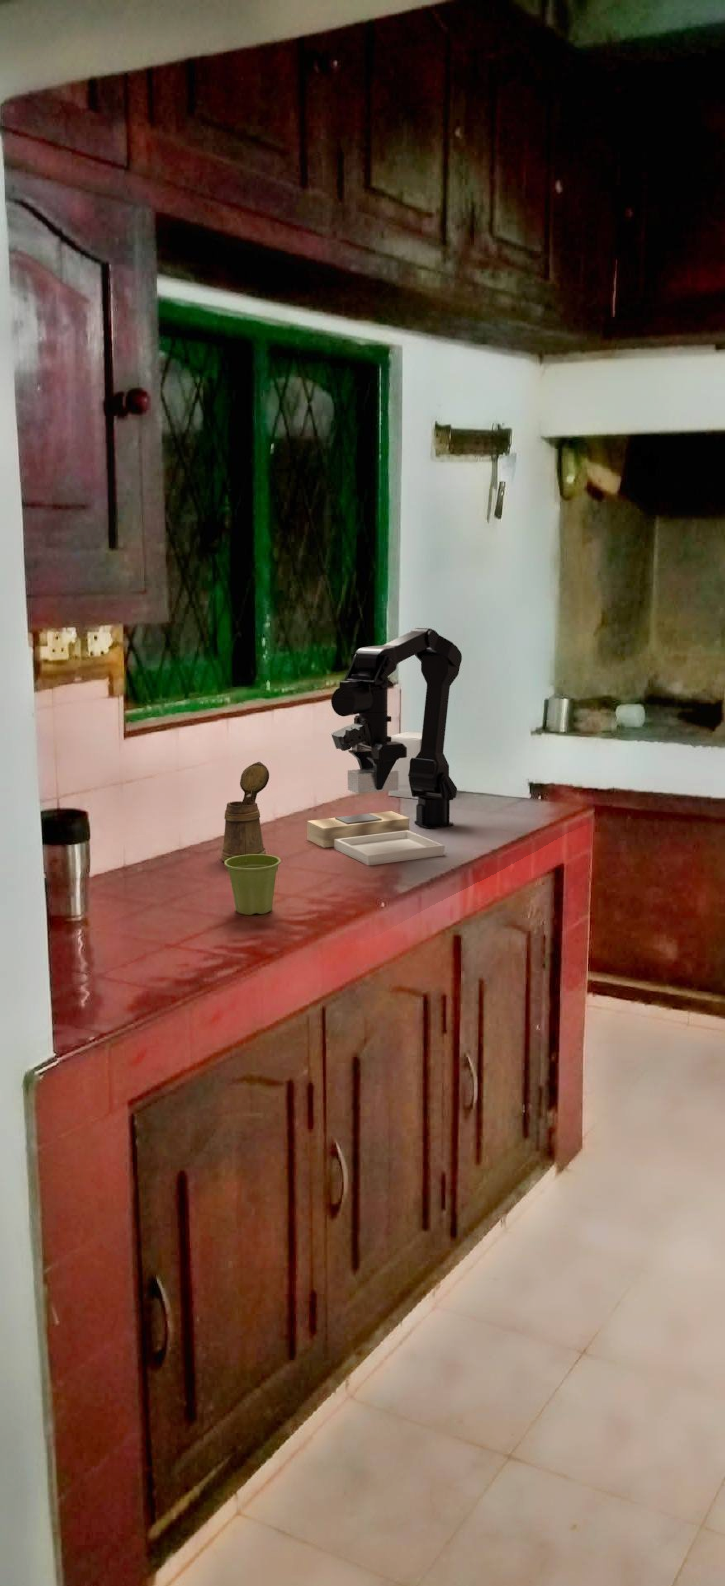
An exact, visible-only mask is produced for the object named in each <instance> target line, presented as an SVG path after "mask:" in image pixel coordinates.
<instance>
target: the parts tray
mask: <svg viewBox="0 0 725 1586" xmlns="http://www.w3.org/2000/svg"><path fill="white" fill-rule="evenodd" d="M333 848H334V850H336V851H338V852H340V853H342V854H344V855H346V856H348V857H350V858H352V859H354V860H356V861H358V862H360V863H362V864H364V865H366V866H375V865H382V864H389V863H390V864H391V863H398V862H405V861H410V860H411V861H412V860H418V859H427V858H433V857H434V858H435V857H442V856H445V845H444V844H442V843H439V842H437V841H435V840H433V839H430V838H427V837H425V836H423V835H421V834H418V833H415V832H413V831H411V830H409V831H408V830H405V831H397V832H389V833H381V834H373V835H365V836H357V837H349V838H341V839H334V846H333Z"/></svg>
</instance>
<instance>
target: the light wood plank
mask: <svg viewBox="0 0 725 1586" xmlns="http://www.w3.org/2000/svg"><path fill="white" fill-rule="evenodd" d="M405 830H408V831H410V817H408V816H405V815H402V814H399V813H397V812H395V811H392V810H390V811H383V812H382V811H380V812H372V813H363V814H354V815H346V816H344V815H343V816H337V817H331V818H330V817H329V818H322V819H313V820H307V821H306V837H307V838H306V840H307V841H309V842H311V843H314V844H315V845H317V846H319V847H321V848H323V849H324V848H331V847H333V848H334V839H341V838H349V837H357V836H365V835H373V834H381V833H389V832H397V831H405Z"/></svg>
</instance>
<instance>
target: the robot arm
mask: <svg viewBox="0 0 725 1586" xmlns="http://www.w3.org/2000/svg"><path fill="white" fill-rule="evenodd" d="M413 656H415V657H416V658H417V660H419V661H420V671H421V674H422V676H423V678H424V681H425V682H426V691H425V701H424V711H423V720H422V722H423V723H422V732H421V733H422V740H421V749H420V752H419V753H418V755H417V756H416V757H415V758H411V760H410V769H409V774H408V776H409V784H410V788H411V793H412V797H418V799H417V804H416V805H415V806H416V807H415V808H416V809H415V810H416V817H415V819H416V820H414V824H415V825H418V826H420V827H423V828H425V829H438V828H445V827H451V826H452V827H453V826H454V823H453V822H451V821H450V813H451V812H450V810H451V809H450V808H451V806H450V805H451V804H450V803H451V802H450V801H454V799H455V798H457V792H458V788H457V786H456V784H455V782H454V781H453V780H452V778H451V777H450V766H449V765H450V764H449V763H448V761H447V759H446V756H445V754H444V747H445V739H446V737H445V736H446V730H447V729H446V726H447V718H448V707H449V700H450V699H449V696H450V688H451V685H452V684H453V683H454V682H455V680H456V678H457V677H458V675H459V674H460V668H461V663H462V661H463V659H462V658H463V657H462V652H461V650H460V649H459V647H458V646H457V645H456V644H454V643H453V642H452V641H451V640H449V639H447V638H445V637H444V636H442V635H440V634H439V633H438V632H437V631H436V630H435V629H432V628H428V627H424V628H423V627H415V628H413V629H411V630H410V632H409V631H408V632H407V633H405V634H404V635H401V636H400V637H397V638H395V639H392V640H391V641H389V642H386V643H385V644H381V645H372V646H370V645H369V646H364V647H360V648H358V649H356V651H355V655H354V656H353V658H352V660H351V663H350V665H349V668H348V670H347V671H346V675H345V677H344V680H340V681H339V687H338V688H337V689H335V690H334V691H333V694H332V696H331V699H330V704H331V707H332V709H333V711H334V712H335V714H336V715H338V716H339V717H340V716H341V717H350V716H354V718H353V723H352V724H350V725H347V726H344V727H342V728H340V729H338V730H335V731H334V732H332V733H331V738H332V741H333V744H334V746H335V749H336V750H341V751H342V752H345V751H348V753H349V754H351V755H352V756H353V757H354V758H355V759H356V761H357V764H358V766H359V769H369V768H374V776H375V784H376V789H377V790H382V788H383V786H384V784H385V782H386V780H387V778H388V776H389V774H390V771H391V770H392V768H393V766H394V764H395V762H396V761H397V760H398V759H399V758H406V757H407V747H406V746H405V745H404V744H402V743H399V742H396V741H393V742H391V737H390V736H391V735H388V723H389V722H390V723H391V722H392V716H390V715H388V688H392V687H394V683H393V682H392V681H391V680H390V678H389V676H391V675H392V674H393V673H394V672H395V671H396V670H397V667H398V664H399V663H401V662H404V661H405V660H407V659H409V658H411V657H413Z"/></svg>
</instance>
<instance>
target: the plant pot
mask: <svg viewBox="0 0 725 1586" xmlns="http://www.w3.org/2000/svg"><path fill="white" fill-rule="evenodd" d="M281 861H282V860H281V858H280V857H278V856H275V855H271V854H266V855H264V854H249V855H241V856H235V857H232V858H229V859H227V860H226V861H225V862H224V866H225V867H226V869H227V872H228V874H229V877H230V883H231V888H232V895H233V899H234V900H233V901H234V905H235V910H236V912H237V913H239V914H242V915H245V916H251V915H254V914H259V915H264V914H267V913H269V912H271V911H272V910H273V906H274V905H273V904H274V895H275V887H276V885H275V884H276V878H277V876H276V875H277V873H278V869H279V866H280V864H281Z"/></svg>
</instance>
